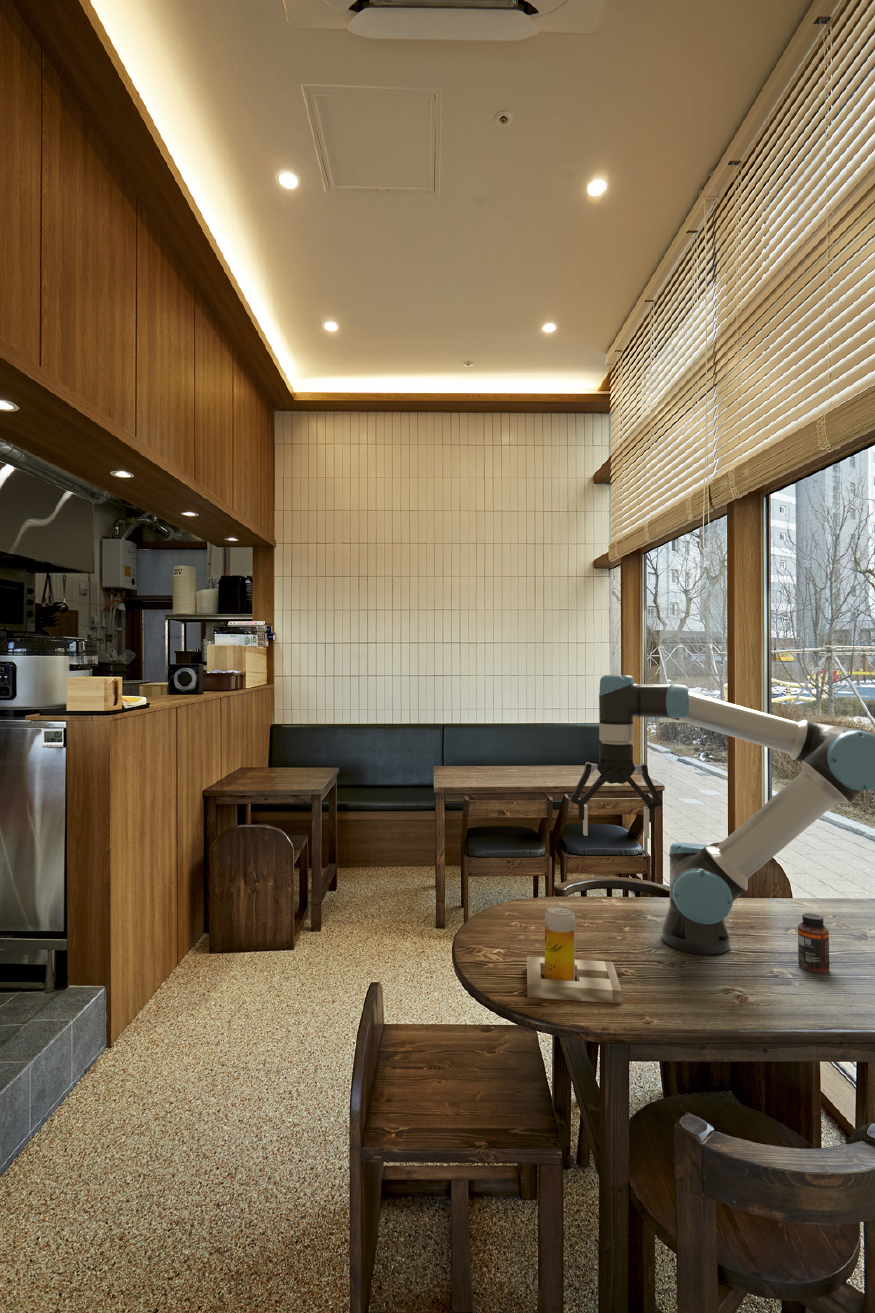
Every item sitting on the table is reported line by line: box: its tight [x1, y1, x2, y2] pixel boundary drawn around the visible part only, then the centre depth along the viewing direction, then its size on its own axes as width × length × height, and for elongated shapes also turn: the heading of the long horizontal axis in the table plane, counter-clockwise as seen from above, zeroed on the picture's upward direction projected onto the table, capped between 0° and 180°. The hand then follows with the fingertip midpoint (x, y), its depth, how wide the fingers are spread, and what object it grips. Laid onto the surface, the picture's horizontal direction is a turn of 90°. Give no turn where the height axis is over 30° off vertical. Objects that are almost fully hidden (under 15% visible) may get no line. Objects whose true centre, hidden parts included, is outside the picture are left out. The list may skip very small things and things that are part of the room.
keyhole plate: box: [526, 956, 623, 1005], centre depth 136 cm, size 18×13×2 cm
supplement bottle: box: [797, 912, 830, 974], centre depth 145 cm, size 6×6×11 cm
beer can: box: [544, 905, 576, 981], centre depth 136 cm, size 6×6×15 cm
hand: (615, 835), depth 152 cm, fingers open, 13 cm apart
